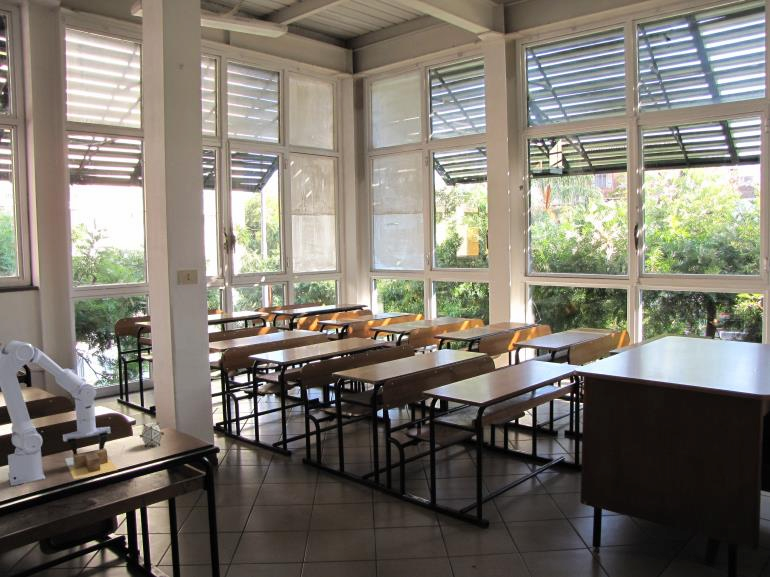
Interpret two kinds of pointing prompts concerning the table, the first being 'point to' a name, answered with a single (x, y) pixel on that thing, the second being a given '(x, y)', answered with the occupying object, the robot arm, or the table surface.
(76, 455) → the T block
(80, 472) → the mat
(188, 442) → the table surface
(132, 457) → the table surface
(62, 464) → the table surface
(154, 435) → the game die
